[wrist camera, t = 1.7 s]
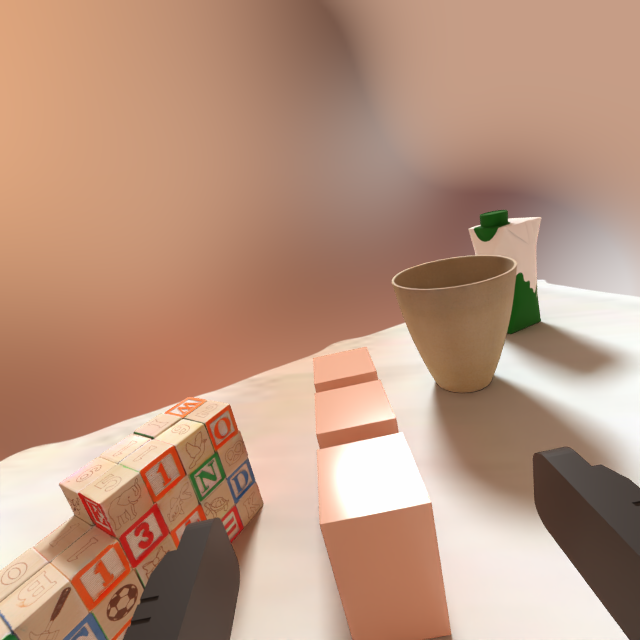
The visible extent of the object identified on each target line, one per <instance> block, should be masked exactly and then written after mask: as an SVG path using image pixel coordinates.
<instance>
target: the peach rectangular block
mask: <svg viewBox="0 0 640 640" xmlns="http://www.w3.org/2000/svg"><path fill="white" fill-rule="evenodd" d="M313 364H314V385H315V389H316V393H319V392H323V391H328V390H333V389H338V388H342V387H347V386H352V385H357V384H361V383H366V382H371V381H376V380H378V377H377V372H376V369H375V366H374V364H373V362H372V359H371V357H370V354H369V352H368V350H367V347H363V348H358V349H353V350H349V351H344V352H339V353H335V354H330V355H325V356H321V357H316V358H313Z"/></svg>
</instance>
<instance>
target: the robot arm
mask: <svg viewBox="0 0 640 640" xmlns="http://www.w3.org/2000/svg"><path fill="white" fill-rule="evenodd" d="M533 476H534V499H535V505H536V509H537V511H538V514H539V516H540V518H541V520H542V522H543V524H544V526H545V527H546V529H547V530H548V532H549V533H550V534H551V536H552V537H553V538H554V540H555V541H556V542H557V544H558V545H559V546H560V548H561V549H562V550H563V552H564V553H565V554H566V556H567V557H568V558H569V560H570V561H571V562H572V564H573V565H574V566H575V568H576V569H577V570H578V572H579V573H580V574H581V576H582V577H583V578H584V580H585V581H586V582H587V584H588V585H589V586H590V588H591V589H592V590H593V592H594V593H595V594H596V596H597V597H598V598H599V600H600V601H601V602H602V604H603V605H604V606H605V608H606V609H607V610H608V612H609V613H610V614H611V616H612V617H613V618H614V620H615V621H616V622H617V624H618V625H619V626H620V628H621V629H622V630H623V632H624V633H625V634H626V636H627V637H628V638H629V640H640V488H639V487H638V486H637V485H636V484H634V483H633V482H632V481H631V480H630V479H628V478H626V477H624V476H622V475H620V474H618V473H616V472H614V471H613V470H611V469H609V468H607V467H605V466H603V465H596V466H591V465H590V464H589V463H587V462H586V461H585V460H584V459H583V458H582V457H581V456H580V455H579V454H578V453H576V452H575V451H574V450H573V449H571V448H569V447H562V448H557V449H553V450H548V451H543V452H538V453H535V454H534V456H533ZM239 582H240V574H239V565H238V560H237V557H236V555H235V552H234V550H233V547H232V545H231V542H230V540H229V537H228V535H227V532H226V530H225V527H224V525H223V522H222V520H221V519H220V518H213V519H208V520H203V521H198V522H193V523H189V524H188V525H187V526H186V528H185V530H184V532H183V535H182V537H181V540H180V542H179V545H178V548H177V550H173V551H168V552H167V553H166V555H165V556H164V557H163V558H162V560H161V561H160V562H159V564H158V565H157V566H156V568H155V569H154V570H153V572H152V573H151V575H150V577H149V579H148V582H147V584H146V586H145V589H144V591H143V593H142V596H141V598H140V604H138V605H137V607H136V610H135V612H134V614H133V617H132V619H131V625H130V627H128V628H127V631H126V633H125V635H124V638H123V640H230V636H231V630H232V625H233V619H234V613H235V608H236V602H237V597H238V591H239Z"/></svg>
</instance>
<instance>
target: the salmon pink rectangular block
mask: <svg viewBox="0 0 640 640" xmlns="http://www.w3.org/2000/svg"><path fill="white" fill-rule="evenodd" d="M317 467H318V493H319V519H320V527H321V531H322V534H323V538H324V541H325V545H326V548H327V552H328V555H329V559H330V562H331V566H332V569H333V573H334V576H335V580H336V583H337V587H338V590H339V594H340V597H341V601H342V604H343V608H344V611H345V615H346V618H347V622H348V625H349V629H350V632H351V636H352V639H353V640H425V639H431V638H436V637H442V636H447V635H451V629H450V623H449V616H448V609H447V603H446V596H445V589H444V583H443V576H442V569H441V563H440V556H439V550H438V543H437V536H436V530H435V523H434V516H433V510H432V503H431V500H430V498H429V495H428V493H427V491H426V488H425V486H424V484H423V481H422V479H421V476H420V474H419V472H418V469H417V467H416V464H415V462H414V460H413V457H412V455H411V452H410V450H409V448H408V445H407V443H406V441H405V438H404V436H403V433H397V434H392V435H387V436H382V437H377V438H373V439H368V440H363V441H358V442H353V443H348V444H343V445H338V446H334V447H329V448H324V449H319V450H317Z"/></svg>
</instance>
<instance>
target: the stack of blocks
mask: <svg viewBox="0 0 640 640" xmlns="http://www.w3.org/2000/svg"><path fill="white" fill-rule="evenodd" d="M59 486H60V487H61V489H62V491H63V493H64V495H65V497H66V499H67V501H68V502H69V504H70V506H71V508H72V510H73V512H74V516H72V517H71V518H70V519H69V520H67V521H66V522H64V523H63V524H62V525H61V526H59V527H58V528H57V529H55V530H54V531H53V532H51V533H50V534H49V535H48V536H46V537H45V538H44V539H42V540H41V541H40V542H39V543H37V544H36V545H35V546H34V547H32V548H30V549H28V550H27V551H26V552H24V553H23V554H22V555H20V556H19V557H18V558H16V559H15V560H14V561H13V562H11V563H10V564H9V565H7V566H6V567H5V568H3V569H2V570H1V571H0V640H123V638H124V635H125V633H126V631H127V628H128V627H130V625H131V619H132V617H133V614H134V612H135V610H136V607H137V605H138V604H140V598H141V596H142V593H143V591H144V589H145V586H146V584H147V582H148V579H149V577H150V575H151V573H152V572H153V570H154V569H155V568H156V566H157V565H158V564H159V562H160V561H161V560H162V558H163V557H164V556H165V555H166V553H167V552H168V551H173V550H177V548H178V545H179V542H180V540H181V537H182V535H183V532H184V530H185V528H186V526H187V525H188V524H189V523H193V522H198V521H203V520H208V519H213V518H220V519H221V520H222V522H223V525H224V527H225V530H226V532H227V535H228V537H229V540H230V542H231V543H232V541H233V540H234V539H235V538H236V537H237V535H238V534H239V533H240V532H241V531H242V529H243V528H244V527H245V526H246V525H247V524H248V522H249V521H250V520H251V519H252V518H253V516H254V515H255V514H256V513H257V512H258V510H259V509H260V508H261V507H262V506H263V500H262V497H261V495H260V492H259V489H258V485H257V483H256V481H255V478H254V474H253V471H252V468H251V465H250V462H249V459H248V454H247V451H246V447H245V445H244V441H243V438H242V436H241V433H240V431H239V430H238V428H237V425H236V422H235V418H234V415H233V412H232V409H231V406H230V405H229V404H227V403H222V402H216V401H212V400H208V401H207V400H205V399H199V398H192V397H188V398H186V399H185V400H183V401H181V402H180V403H179V404H177V405H176V406H174V407H172V408H171V409H169V410H168V411H166V412H165V413H161V414H159V415H157V416H156V417H154V418H153V419H151V420H150V421H148V422H147V423H145V424H144V425H142V426H141V427H139V428H138V429H136V430H135V431H134V434H131V435H129V436H127V437H126V438H124V439H123V440H121V441H120V442H119V443H117V444H115V445H114V446H113V447H111V448H110V449H108V450H107V451H105V452H104V453H102V454H101V455H100V457H98V458H95V459H94V460H92V461H91V462H89V463H88V464H86V465H85V466H84V467H82V468H81V469H79V470H78V471H76V472H75V473H73V474H72V475H70V476H69V477H67V478H66V479H64V480H63V481H61V482H60V483H59Z"/></svg>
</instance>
